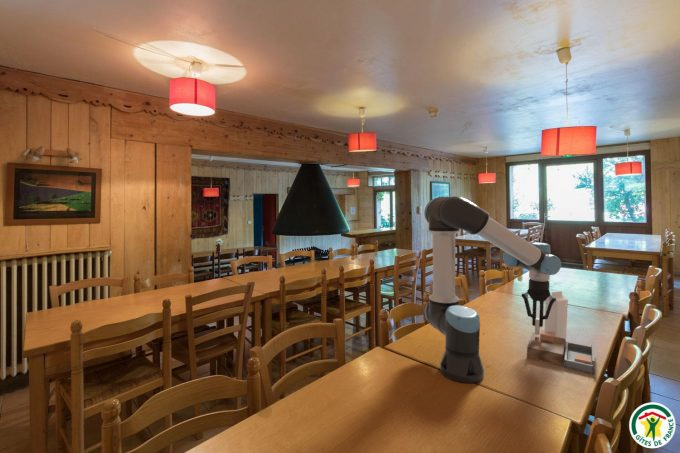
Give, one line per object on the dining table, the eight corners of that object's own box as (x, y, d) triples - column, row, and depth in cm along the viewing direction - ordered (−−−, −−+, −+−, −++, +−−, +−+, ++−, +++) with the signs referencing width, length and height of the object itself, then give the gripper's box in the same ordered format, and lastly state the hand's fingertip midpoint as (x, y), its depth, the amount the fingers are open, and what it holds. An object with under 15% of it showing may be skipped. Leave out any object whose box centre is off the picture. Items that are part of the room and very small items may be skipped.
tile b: (540, 339, 141) (540, 333, 141) (541, 335, 146) (541, 330, 145) (554, 342, 139) (554, 336, 138) (555, 338, 143) (555, 332, 142)
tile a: (591, 362, 124) (590, 368, 125) (590, 357, 128) (590, 363, 129) (574, 358, 127) (574, 364, 128) (575, 353, 131) (574, 359, 132)
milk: (566, 340, 151) (568, 292, 149) (555, 342, 149) (558, 293, 148) (554, 335, 157) (556, 289, 155) (543, 337, 155) (546, 290, 153)
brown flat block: (526, 357, 135) (527, 346, 135) (532, 342, 150) (532, 332, 149) (562, 365, 128) (563, 354, 128) (564, 349, 143) (565, 338, 142)
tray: (564, 367, 127) (564, 354, 126) (566, 348, 143) (566, 337, 143) (593, 374, 122) (594, 361, 121) (592, 353, 138) (593, 342, 137)
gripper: (520, 279, 143) (518, 333, 145) (556, 283, 136) (554, 339, 137) (522, 275, 149) (521, 327, 151) (557, 279, 142) (555, 334, 144)
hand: (537, 333), depth 144 cm, fingers closed
